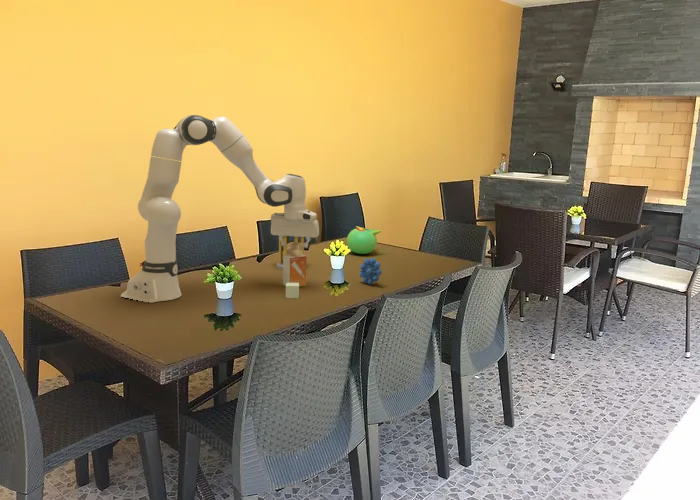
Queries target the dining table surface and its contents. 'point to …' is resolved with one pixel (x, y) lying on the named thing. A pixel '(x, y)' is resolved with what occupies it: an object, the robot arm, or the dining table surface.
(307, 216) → the robot arm
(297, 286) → the sage cube
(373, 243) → the green round piece
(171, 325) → the dining table surface
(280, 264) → the lantern
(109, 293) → the dining table surface
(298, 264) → the small box
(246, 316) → the dining table surface
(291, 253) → the beech cube
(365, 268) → the grapes
